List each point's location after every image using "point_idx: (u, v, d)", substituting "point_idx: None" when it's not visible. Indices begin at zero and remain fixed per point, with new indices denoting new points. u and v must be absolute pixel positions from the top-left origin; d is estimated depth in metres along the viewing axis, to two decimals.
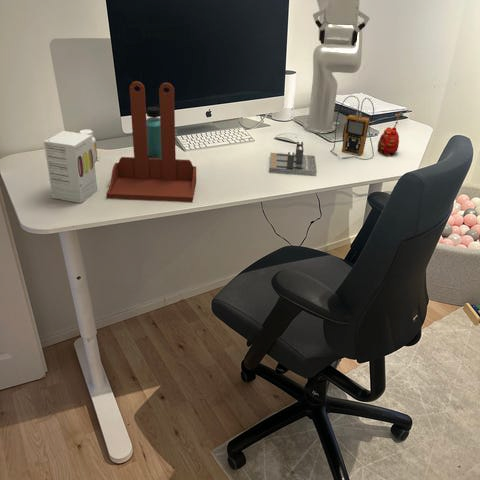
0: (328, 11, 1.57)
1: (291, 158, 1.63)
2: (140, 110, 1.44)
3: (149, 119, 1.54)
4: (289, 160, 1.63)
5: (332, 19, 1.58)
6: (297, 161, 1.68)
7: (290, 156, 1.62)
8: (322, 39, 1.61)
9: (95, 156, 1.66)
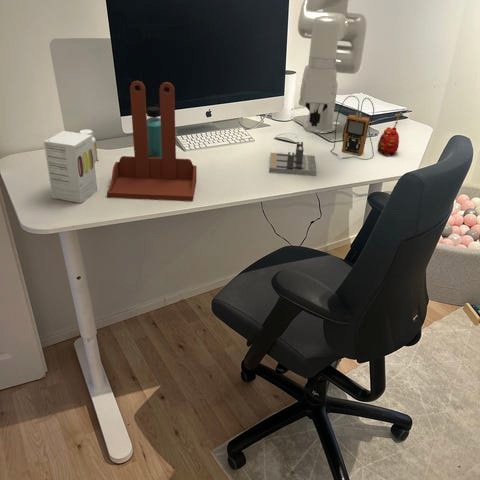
0: (304, 90, 1.50)
1: (291, 158, 1.63)
2: (140, 109, 1.45)
3: (149, 119, 1.54)
4: (289, 160, 1.63)
5: (308, 98, 1.51)
6: (297, 161, 1.68)
7: (290, 156, 1.62)
8: (312, 122, 1.55)
9: (95, 156, 1.66)
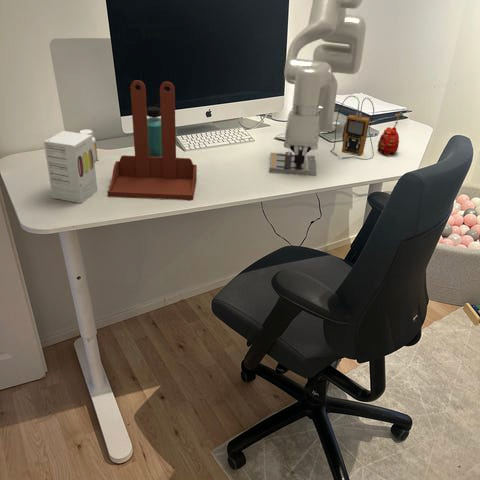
0: (288, 134, 1.58)
1: (288, 158, 1.63)
2: (141, 109, 1.45)
3: (149, 119, 1.54)
4: (286, 160, 1.63)
5: (292, 141, 1.59)
6: None
7: (287, 156, 1.62)
8: (297, 163, 1.63)
9: (95, 156, 1.66)
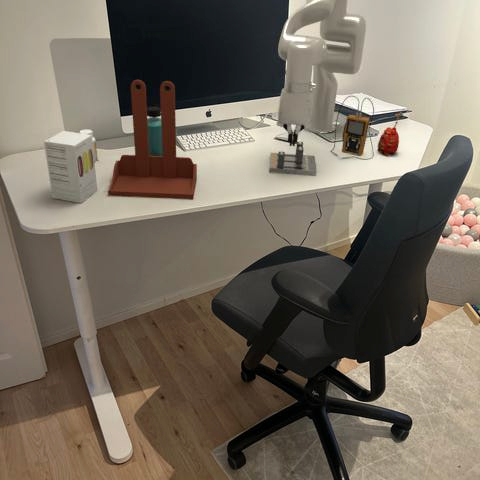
0: (281, 112, 1.55)
1: (281, 157, 1.63)
2: (141, 108, 1.46)
3: (149, 119, 1.54)
4: (279, 159, 1.63)
5: (285, 119, 1.56)
6: (297, 161, 1.68)
7: (280, 155, 1.62)
8: (290, 142, 1.60)
9: (95, 156, 1.66)
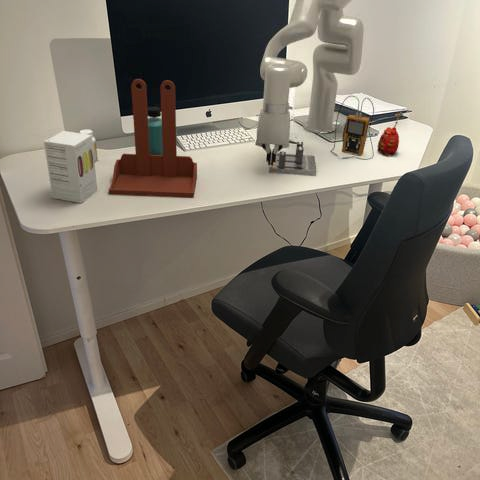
0: (259, 132, 1.58)
1: (283, 157, 1.63)
2: (142, 107, 1.46)
3: (149, 119, 1.54)
4: (281, 159, 1.63)
5: (263, 139, 1.59)
6: (297, 161, 1.68)
7: (282, 155, 1.62)
8: (268, 161, 1.63)
9: (95, 156, 1.66)
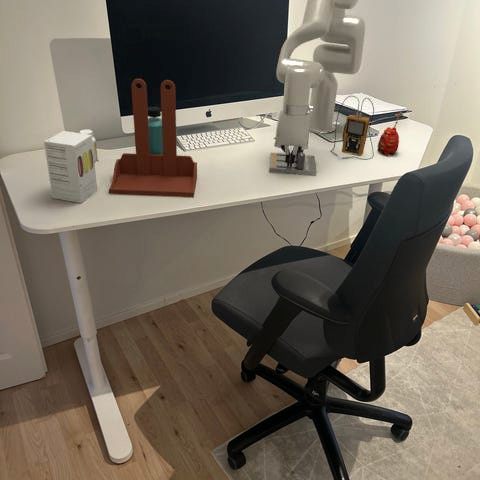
0: (278, 133, 1.58)
1: (301, 159, 1.63)
2: (142, 107, 1.47)
3: (149, 119, 1.54)
4: (299, 161, 1.63)
5: (282, 141, 1.59)
6: (297, 161, 1.68)
7: (300, 157, 1.62)
8: (287, 162, 1.63)
9: (95, 156, 1.66)
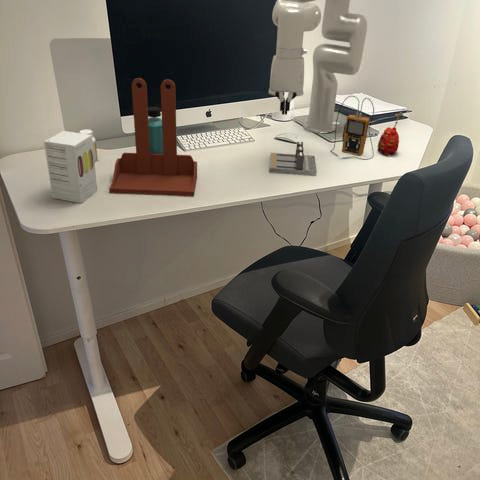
0: (272, 79, 1.54)
1: (301, 159, 1.63)
2: (142, 106, 1.47)
3: (149, 119, 1.54)
4: (299, 161, 1.63)
5: (277, 87, 1.55)
6: None
7: (300, 157, 1.62)
8: (282, 110, 1.60)
9: (95, 156, 1.66)
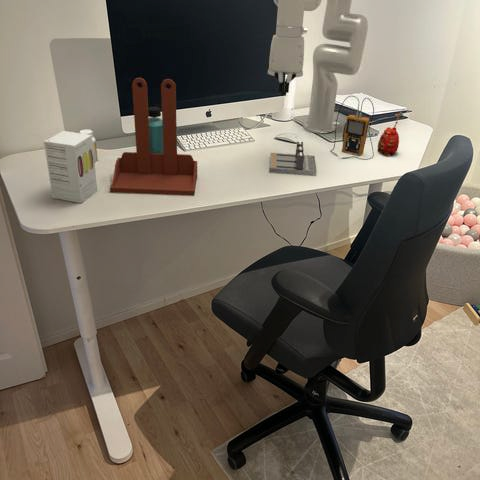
0: (272, 59, 1.52)
1: (301, 159, 1.63)
2: (142, 106, 1.47)
3: (149, 119, 1.54)
4: (299, 161, 1.63)
5: (276, 67, 1.53)
6: None
7: (300, 157, 1.62)
8: (281, 91, 1.58)
9: (95, 156, 1.66)
